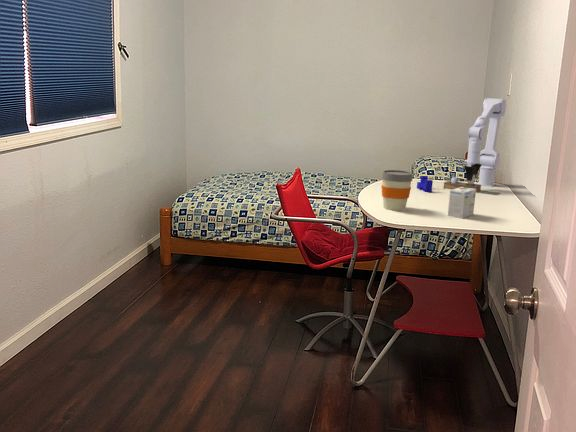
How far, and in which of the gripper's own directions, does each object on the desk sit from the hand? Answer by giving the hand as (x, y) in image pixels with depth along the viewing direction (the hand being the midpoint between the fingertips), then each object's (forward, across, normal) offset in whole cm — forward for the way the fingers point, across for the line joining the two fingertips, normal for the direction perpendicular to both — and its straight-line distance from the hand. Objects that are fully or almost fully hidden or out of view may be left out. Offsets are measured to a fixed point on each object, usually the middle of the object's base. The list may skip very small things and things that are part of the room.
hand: (471, 179), depth 316 cm
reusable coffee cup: (+5, +64, -14) cm, 66 cm away
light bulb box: (+6, +58, +12) cm, 60 cm away
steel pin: (+6, 0, 0) cm, 6 cm away
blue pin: (+6, 0, -8) cm, 10 cm away
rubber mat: (+6, 0, +10) cm, 11 cm away
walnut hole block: (+6, 0, -4) cm, 7 cm away
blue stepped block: (+6, +14, -18) cm, 24 cm away
